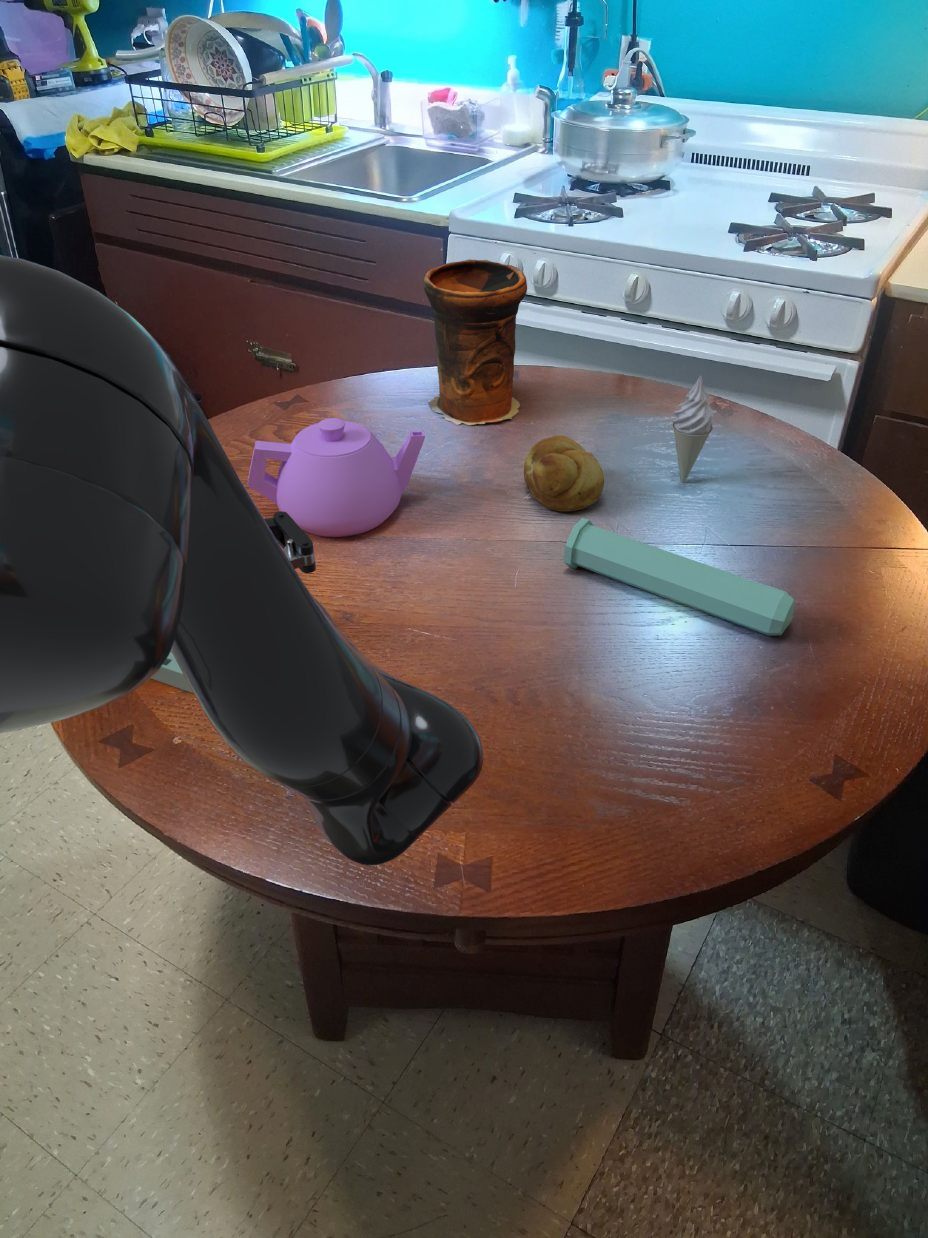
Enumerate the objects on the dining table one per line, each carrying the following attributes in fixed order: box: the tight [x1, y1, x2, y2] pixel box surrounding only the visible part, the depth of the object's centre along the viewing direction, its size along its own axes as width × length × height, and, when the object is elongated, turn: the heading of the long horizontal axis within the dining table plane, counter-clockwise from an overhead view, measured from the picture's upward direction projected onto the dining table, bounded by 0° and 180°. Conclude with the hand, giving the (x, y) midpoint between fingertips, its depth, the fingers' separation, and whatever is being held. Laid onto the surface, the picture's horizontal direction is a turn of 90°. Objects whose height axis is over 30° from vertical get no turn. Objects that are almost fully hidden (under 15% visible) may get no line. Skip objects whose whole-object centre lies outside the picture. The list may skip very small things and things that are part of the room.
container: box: [563, 517, 796, 637], centre depth 95 cm, size 6×6×25 cm
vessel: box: [423, 258, 528, 426], centre depth 127 cm, size 14×14×20 cm
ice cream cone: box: [671, 374, 715, 484], centre depth 111 cm, size 5×5×15 cm
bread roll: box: [523, 435, 605, 513], centre depth 111 cm, size 13×10×8 cm
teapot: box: [246, 417, 426, 538], centre depth 107 cm, size 22×16×12 cm
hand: (182, 525), depth 72 cm, fingers open, 8 cm apart
